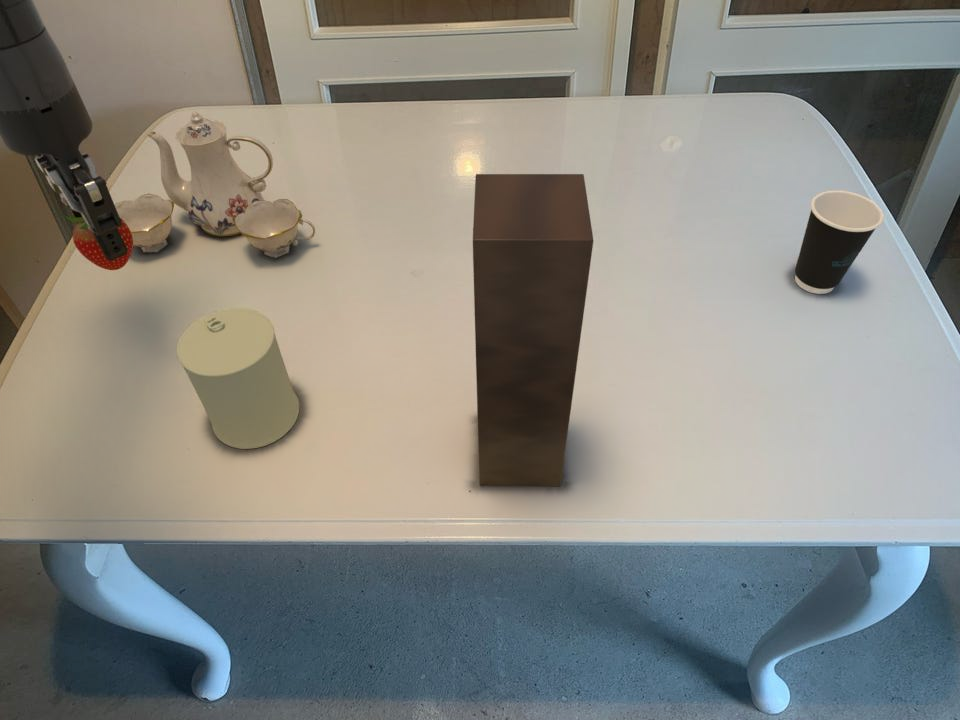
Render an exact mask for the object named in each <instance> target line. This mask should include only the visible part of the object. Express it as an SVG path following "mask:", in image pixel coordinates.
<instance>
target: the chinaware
mask: <svg viewBox="0 0 960 720" xmlns="http://www.w3.org/2000/svg"><path fill="white" fill-rule="evenodd" d="M227 131H228V126H227V125H226V124H225V123H224V122H221V121H219V120H216V119H215V120H212V119H208V118H205V117H203V115H201V114H199V112H197V111H193V112H192V113H191V116H190V118H189V121H188V122H187V124H186V125H184V126H181V127H180V128H179V130H178V131H176V132H175V136H174V138H175V140H176V142H178V143H179V144H180V146H181V147H182V149H183V151H184V153H185V155H186V158H187V161H188V163H189V164H188V165H189V168H190V179H191V180H185V179H183V178H182V176H181V175H180V173H179V169H178V167H177V164H176V163H177V162H176V158H175V156H174V152H173V148H172V146H171V145H170V143H169V141H168V140H167V139H166V138H165V137H164V136H163V135H162V134H160V133H158V132H156V131H149V132H147V134H146V136H147V137H149V138H150V139H152V141H154V142H155V143H156V145H157V146H158V149H159V154H160V155H159V156H160V157H159V159H160V160H159V161H160V177H161V183H162V187H163V189H164V191H165V194H166V195H167V197H168V198H169V199H163V198H162V197H161V196H159V195H157V194H153V193H146V194H142V195H140V196H138V197H137V198H135V199H134V200H122V201H119V202H117V203H114V205H115V208H116V210H117V212H118V215H119V217H120V218H121V219H122V220H123V221H124V222H125V223H126V224H127V226H128V227H129V229H130V231H131V234H132V238H133V247H134V246H135V247H138V248H140V249H141V250H142V253H158V252H160V250H162V249H164V248H165V247H166V246H167V245H168V241H167V240H166V239H168V237H169V235H170V234H171V231H172V227H173V220H172V219H173V218H172V214H173V212H174V209H175V208H174V207H175V205H176V206H177V207H179V208H181V209H182V210H184V211H186V212H188V218H189V221H191V222H192V223H193V224H195V225H197V226H200V227H201V229H202V231H203V232H204V233H206V234H208V235H211V236H213V237H214V236H215V237H232V236H237V235H240V234H241V235H242V236H244V237H245V239H246V240H247V242H248V243H249V244H251V246H253V247H254V248H256V249H257V250H260V251H263V252H264V253H263V255H264V256H265V255H266V256H269V257H271V258H275V259H277V258H278V257H281V256H284V255H286V254H289V252H290V248H291V247H290V245H292V246H295V247H296V246H298V244H299V241H298V240H302V241H307V240H311V239H312V238H314V236H315V234H316V227H315V225H314V224H313V222H311V221H310V220H309V219H303V213H302V211H301V210H300V209H298V207H296V205H295V204H294V202H293V201H291V200H289V199H288V198H279V199H276V200H273V201H269V200H265V197H264V196H263V195H262V192H264V191H265V190H266V188H267V183H266V180H265V179H266V178H267V177H268V176H270V174H271V172H272V170H273V167H274V157H273V155H272V152H271V151H270V149H269V148H268V146H266V144H265V143H264V142H262V140H261V141H260V140H259V139H258V138H255V137H252V136H249V135H234V136H230V137H229V138H228V139H227V137H228V136H227ZM231 142H232V144H231ZM240 142H247V143H250V144H254V145H255V146H257V147H258V148H260V149H261V150H262V151H263V153H264V154H265V156H266V158H267V164H268V165H267V168H266V170H265V171H264V172H263V173H262V174H260V175H257V176H253V177H251V176H249V174H247V173H246V172H245V171H243V170H242V168H241V167H240V166H239V165H238V164H237V162H236V160H235V159H234V157H233V156H232V153H231V150H230V149H232V150H233V151H235V152H236V151H239V150H241V143H240ZM304 223H307V224H308V225H309V226H310V227H311V228H312V233H311V235H309V236H305V237H304V236H303V237H302V236H297V233H298V226H299V225H298V224H300V225H301V226H303V225H304Z"/></svg>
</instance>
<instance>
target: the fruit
mask: <svg viewBox="0 0 960 720" xmlns="http://www.w3.org/2000/svg"><path fill="white" fill-rule="evenodd" d="M80 214H81V213H80ZM103 215H104V214H103ZM101 216H102V215H101ZM98 217H99V216H98ZM64 218H66V219H67V220H68V221H71V222H73V223H76V225H75V226H74V229H73V231H72V241H73V244H74V246H75V248H76V250H77V251H78V252H79V253H80V255H81V256H83V257H84V258H85V259H86V260H88V261H89V262H91V263H92V264H94V265H96V266H97V267H99V268H101V269H103V270H108V271H117V270H121V269H122V268H124V267H125V265H127V263H128V262H129V260H130V257H131V255H132V252H133V248H134V245H133V238H132V234H131V231H130V229H129V227H128V226H127V224H126V223H125V222H124V221H123V220H122V219H121V218H120V219H121V220H122V226H120V227H117V228H118V230H119V233H120V235H121V237H122V239H123V241H124V243H125V245H126V247H127V249H128V252H127V254H126V255H124V256H122V257H119V258H117V259H115V260H112V261H110V260H108V259H107V258H106V257H105V256H104V254H103V252H102V250H101V249H100V247H99V245H98V243H97V241H96V239H95V237H94V235H93V233H92V231H91V230H89V229H88V227H87V226H88V225H87V224H86V222H85V220H84V219H83V217H74V216H64ZM77 222H79V223H78V224H77Z"/></svg>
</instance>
